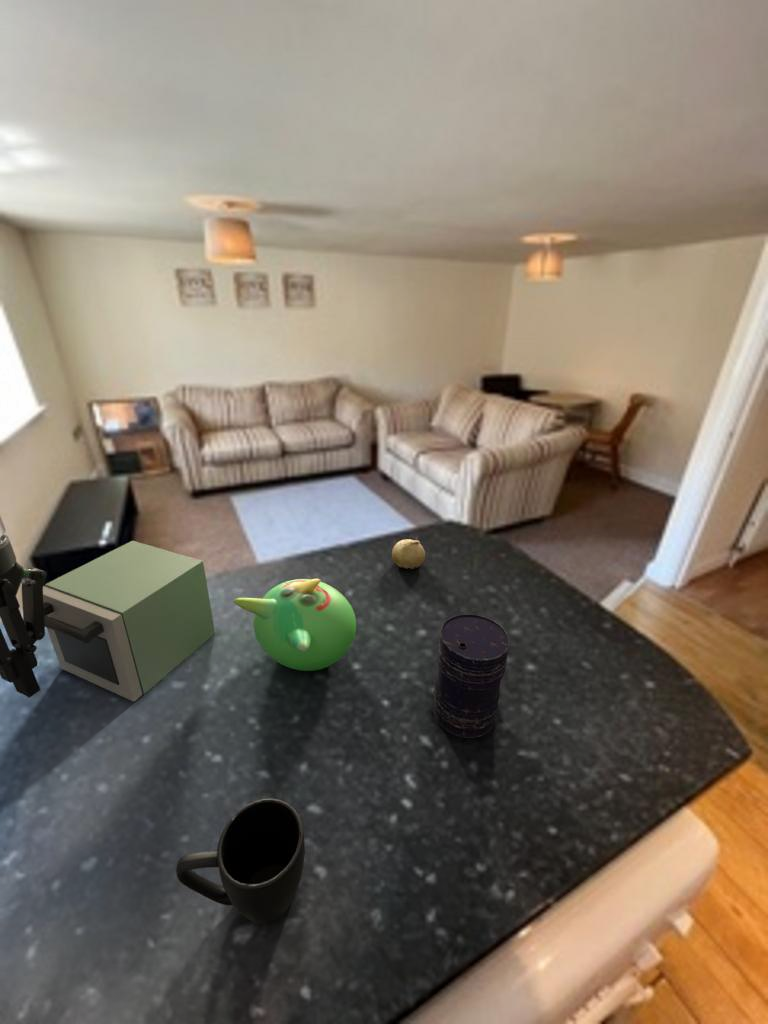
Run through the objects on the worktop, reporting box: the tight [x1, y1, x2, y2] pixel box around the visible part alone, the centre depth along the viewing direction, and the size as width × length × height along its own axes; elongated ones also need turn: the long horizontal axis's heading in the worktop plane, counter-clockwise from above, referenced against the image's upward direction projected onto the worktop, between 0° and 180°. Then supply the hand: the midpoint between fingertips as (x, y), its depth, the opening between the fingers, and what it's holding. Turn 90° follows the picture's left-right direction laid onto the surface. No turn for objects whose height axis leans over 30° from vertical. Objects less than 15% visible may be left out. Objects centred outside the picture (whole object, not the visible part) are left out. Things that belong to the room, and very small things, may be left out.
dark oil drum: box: [432, 613, 510, 739], centre depth 67 cm, size 10×10×15 cm
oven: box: [44, 540, 216, 695], centre depth 77 cm, size 16×17×16 cm
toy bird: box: [233, 578, 357, 672], centre depth 77 cm, size 18×17×15 cm
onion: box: [391, 536, 426, 570], centre depth 107 cm, size 8×8×7 cm
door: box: [43, 585, 143, 703], centre depth 69 cm, size 5×17×16 cm, turn 67°
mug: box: [175, 798, 306, 926], centre depth 45 cm, size 8×12×10 cm
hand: (28, 690), depth 63 cm, fingers closed
